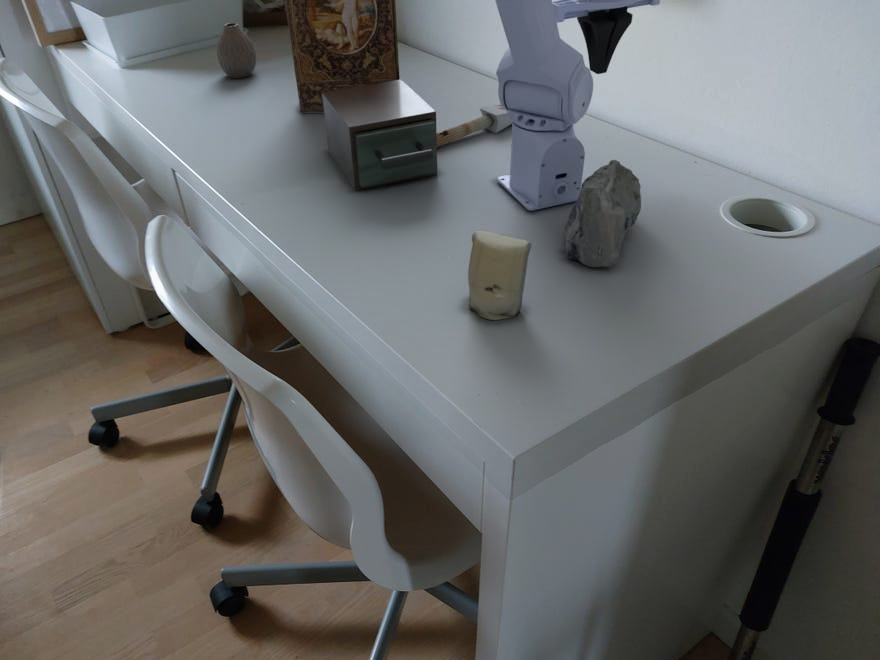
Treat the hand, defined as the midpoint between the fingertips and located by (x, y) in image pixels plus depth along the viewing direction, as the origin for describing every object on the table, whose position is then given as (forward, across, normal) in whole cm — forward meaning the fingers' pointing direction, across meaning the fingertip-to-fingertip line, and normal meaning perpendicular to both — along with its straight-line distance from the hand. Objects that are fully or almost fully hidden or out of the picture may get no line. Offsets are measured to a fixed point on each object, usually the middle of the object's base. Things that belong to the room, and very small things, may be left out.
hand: (598, 71), depth 94 cm
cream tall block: (+10, +28, +30) cm, 43 cm away
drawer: (+9, +28, -4) cm, 30 cm away
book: (+10, +26, -31) cm, 42 cm away
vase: (+10, +40, -56) cm, 70 cm away
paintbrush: (+11, +11, -12) cm, 19 cm away
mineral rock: (+10, +12, +23) cm, 28 cm away
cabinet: (+10, +28, -8) cm, 31 cm away
